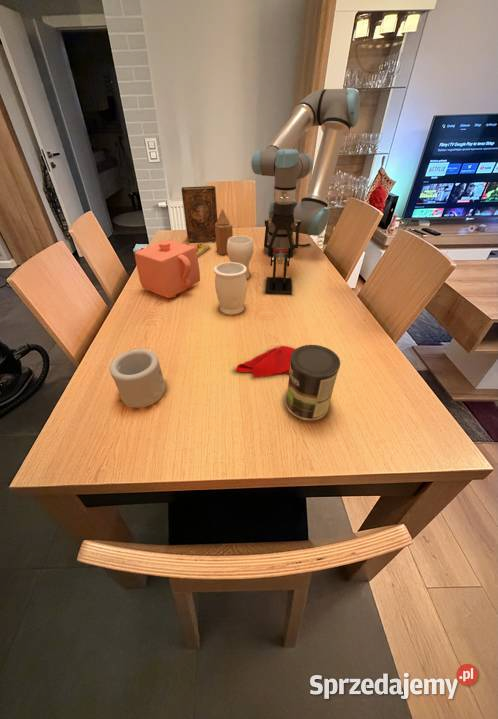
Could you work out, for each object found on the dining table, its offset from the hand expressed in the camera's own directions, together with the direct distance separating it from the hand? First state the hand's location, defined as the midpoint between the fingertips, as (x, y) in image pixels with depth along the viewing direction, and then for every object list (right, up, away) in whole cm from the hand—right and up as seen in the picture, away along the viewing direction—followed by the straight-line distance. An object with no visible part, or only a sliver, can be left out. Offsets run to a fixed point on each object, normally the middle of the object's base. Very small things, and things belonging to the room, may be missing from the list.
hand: (279, 264), depth 122 cm
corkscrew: (0, 0, -6) cm, 6 cm away
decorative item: (-24, +14, +25) cm, 38 cm away
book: (-37, +25, +38) cm, 59 cm away
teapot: (-41, -9, -1) cm, 42 cm away
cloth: (-3, -40, -38) cm, 55 cm away
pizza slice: (-40, +12, +23) cm, 48 cm away
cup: (-16, -3, +5) cm, 17 cm away
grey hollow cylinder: (-39, -46, -45) cm, 76 cm away
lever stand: (-1, -10, -3) cm, 10 cm away
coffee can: (+1, -49, -50) cm, 70 cm away
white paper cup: (-19, -21, -16) cm, 32 cm away
